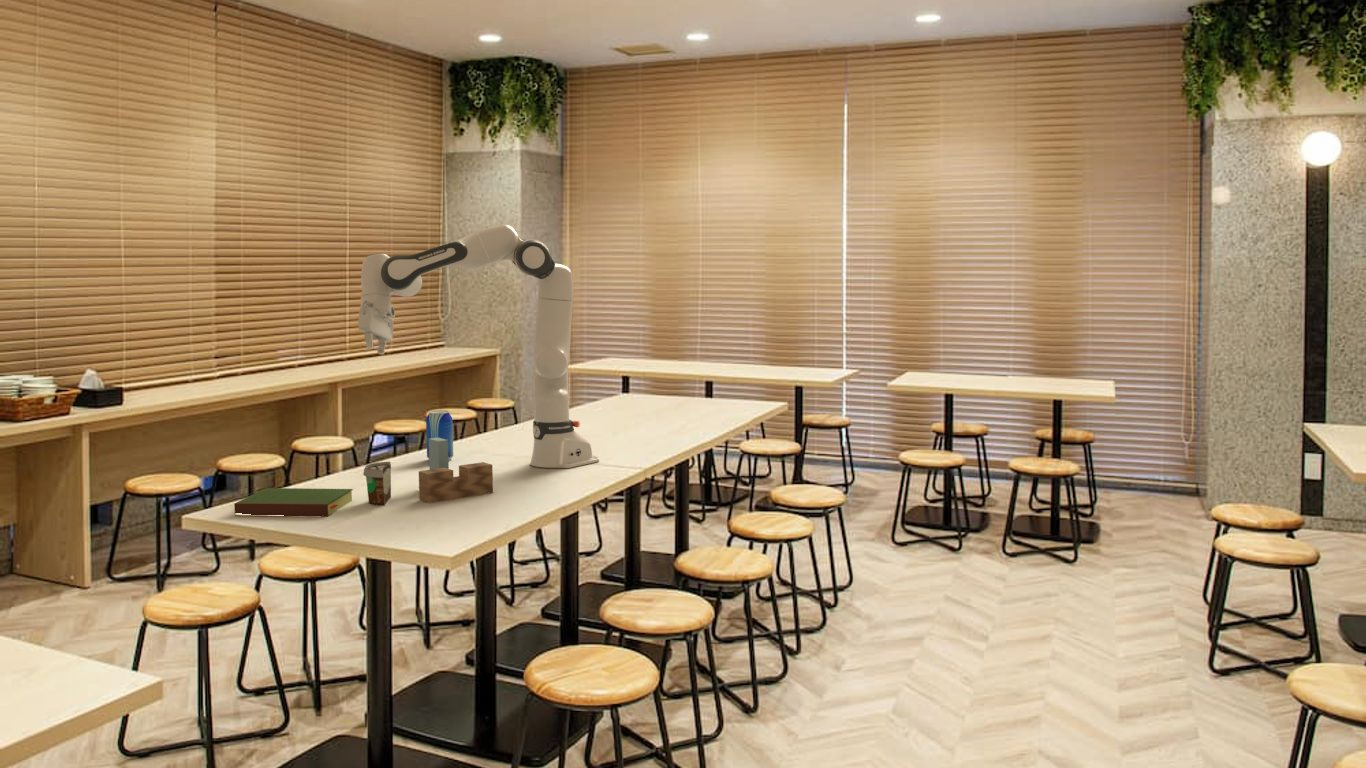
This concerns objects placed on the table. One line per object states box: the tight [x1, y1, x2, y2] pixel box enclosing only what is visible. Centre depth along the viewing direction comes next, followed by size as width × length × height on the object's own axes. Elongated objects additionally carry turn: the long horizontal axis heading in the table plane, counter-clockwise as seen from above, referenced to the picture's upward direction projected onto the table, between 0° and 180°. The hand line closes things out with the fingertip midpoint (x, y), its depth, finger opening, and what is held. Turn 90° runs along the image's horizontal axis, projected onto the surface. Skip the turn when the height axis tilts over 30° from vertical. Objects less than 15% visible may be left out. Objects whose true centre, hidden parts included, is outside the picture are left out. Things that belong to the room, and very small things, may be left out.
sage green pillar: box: [428, 438, 450, 470], centre depth 311 cm, size 3×6×14 cm, turn 40°
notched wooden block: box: [418, 461, 494, 504], centre depth 299 cm, size 20×5×8 cm, turn 130°
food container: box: [363, 461, 392, 507], centre depth 292 cm, size 12×6×10 cm, turn 5°
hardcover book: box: [233, 487, 354, 518], centre depth 286 cm, size 25×19×4 cm
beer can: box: [425, 409, 454, 462], centre depth 352 cm, size 8×8×16 cm
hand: (375, 351), depth 327 cm, fingers open, 8 cm apart
